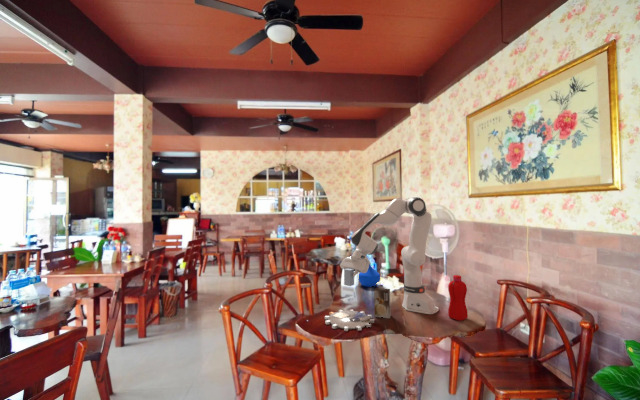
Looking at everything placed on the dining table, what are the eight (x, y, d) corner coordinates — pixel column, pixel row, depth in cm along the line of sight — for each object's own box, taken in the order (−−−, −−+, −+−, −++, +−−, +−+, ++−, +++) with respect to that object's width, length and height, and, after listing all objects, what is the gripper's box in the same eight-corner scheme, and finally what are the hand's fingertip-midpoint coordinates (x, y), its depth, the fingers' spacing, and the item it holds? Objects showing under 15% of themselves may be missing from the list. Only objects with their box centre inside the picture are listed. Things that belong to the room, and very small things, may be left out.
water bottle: (444, 317, 180) (443, 275, 180) (455, 313, 186) (455, 273, 186) (458, 322, 172) (457, 278, 172) (469, 318, 178) (469, 276, 178)
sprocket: (383, 319, 178) (383, 316, 178) (354, 336, 157) (354, 332, 157) (344, 308, 198) (344, 305, 198) (314, 321, 176) (314, 318, 176)
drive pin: (354, 284, 196) (354, 269, 196) (349, 286, 193) (349, 270, 193) (348, 283, 199) (348, 268, 199) (344, 284, 196) (344, 269, 196)
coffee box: (391, 315, 185) (390, 288, 185) (389, 318, 179) (389, 291, 179) (376, 313, 188) (375, 287, 189) (374, 317, 182) (373, 290, 183)
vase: (384, 287, 244) (383, 263, 244) (362, 289, 240) (362, 265, 240) (375, 281, 261) (374, 259, 262) (354, 283, 258) (354, 260, 258)
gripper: (343, 253, 209) (334, 270, 202) (368, 257, 195) (359, 275, 188) (347, 259, 212) (338, 275, 205) (372, 263, 198) (363, 281, 191)
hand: (349, 275), depth 196 cm, fingers closed on drive pin, 4 cm apart
